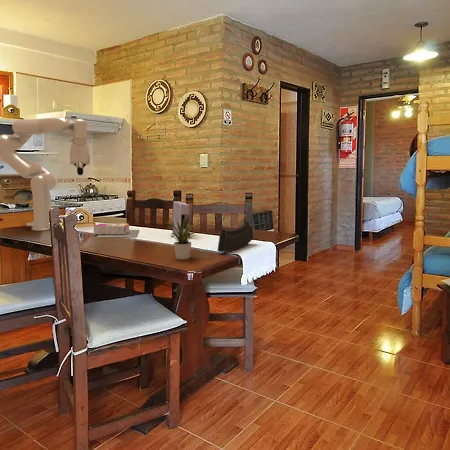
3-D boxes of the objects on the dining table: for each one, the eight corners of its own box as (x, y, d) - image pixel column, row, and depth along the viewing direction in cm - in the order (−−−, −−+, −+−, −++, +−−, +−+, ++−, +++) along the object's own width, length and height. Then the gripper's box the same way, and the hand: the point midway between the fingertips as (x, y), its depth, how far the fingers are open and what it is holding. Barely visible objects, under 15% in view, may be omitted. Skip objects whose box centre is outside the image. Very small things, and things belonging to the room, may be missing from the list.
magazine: (221, 234, 183) (250, 207, 207) (214, 233, 185) (243, 207, 209) (226, 271, 190) (254, 241, 214) (220, 270, 191) (247, 240, 215)
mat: (96, 238, 227) (96, 236, 227) (103, 231, 251) (103, 230, 251) (136, 237, 230) (136, 236, 230) (139, 230, 253) (139, 229, 253)
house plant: (155, 260, 175) (154, 218, 173) (171, 253, 188) (171, 215, 186) (187, 263, 170) (187, 220, 168) (202, 256, 183) (202, 216, 181)
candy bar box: (99, 222, 244) (129, 223, 244) (99, 232, 244) (129, 232, 245) (93, 225, 233) (125, 225, 233) (93, 234, 233) (125, 235, 233)
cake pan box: (190, 238, 229) (190, 204, 226) (180, 238, 227) (180, 204, 224) (180, 233, 246) (180, 201, 244) (172, 233, 245) (171, 201, 242)
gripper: (64, 141, 245) (64, 174, 247) (91, 142, 246) (92, 175, 248) (68, 141, 252) (68, 174, 255) (94, 142, 253) (95, 175, 256)
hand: (80, 175), depth 252 cm, fingers closed
